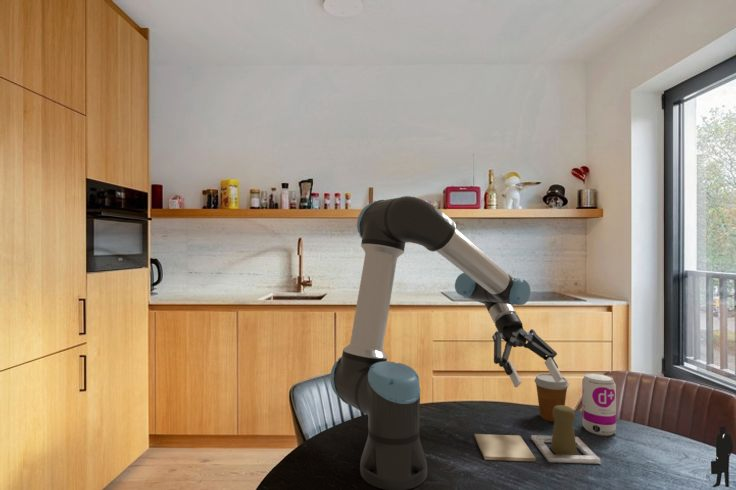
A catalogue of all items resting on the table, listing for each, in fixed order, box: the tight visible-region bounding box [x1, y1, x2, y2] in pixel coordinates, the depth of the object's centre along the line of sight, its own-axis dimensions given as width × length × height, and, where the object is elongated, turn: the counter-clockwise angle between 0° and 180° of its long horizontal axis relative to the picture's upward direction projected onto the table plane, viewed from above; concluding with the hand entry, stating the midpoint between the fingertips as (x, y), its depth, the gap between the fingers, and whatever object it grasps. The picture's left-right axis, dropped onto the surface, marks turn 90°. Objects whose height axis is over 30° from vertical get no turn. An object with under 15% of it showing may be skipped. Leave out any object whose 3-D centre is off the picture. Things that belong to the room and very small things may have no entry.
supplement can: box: [581, 372, 617, 437], centre depth 114 cm, size 8×8×15 cm
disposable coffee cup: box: [534, 373, 570, 422], centre depth 123 cm, size 10×10×12 cm
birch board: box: [474, 433, 537, 462], centre depth 103 cm, size 12×12×1 cm
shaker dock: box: [530, 434, 601, 465], centre depth 102 cm, size 12×12×1 cm
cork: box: [550, 405, 578, 455], centre depth 102 cm, size 6×6×11 cm
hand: (539, 382), depth 112 cm, fingers open, 13 cm apart
